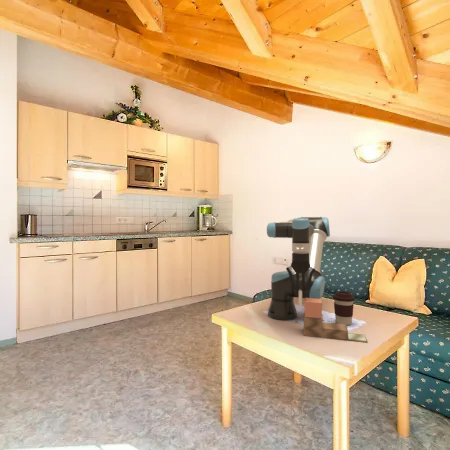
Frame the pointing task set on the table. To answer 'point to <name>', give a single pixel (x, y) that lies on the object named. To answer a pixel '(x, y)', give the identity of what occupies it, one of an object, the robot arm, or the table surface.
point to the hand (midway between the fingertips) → (300, 304)
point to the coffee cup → (343, 307)
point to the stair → (330, 330)
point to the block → (313, 308)
